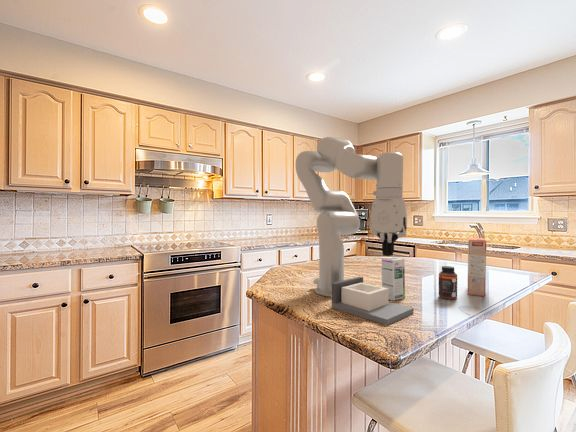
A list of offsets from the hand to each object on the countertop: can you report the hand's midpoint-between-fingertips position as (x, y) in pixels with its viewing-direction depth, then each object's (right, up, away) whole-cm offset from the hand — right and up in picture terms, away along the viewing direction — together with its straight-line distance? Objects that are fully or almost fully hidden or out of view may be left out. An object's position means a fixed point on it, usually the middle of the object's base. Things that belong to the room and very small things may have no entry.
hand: (387, 255), depth 90 cm
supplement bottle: (+28, -18, +18) cm, 38 cm away
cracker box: (+44, -18, +26) cm, 54 cm away
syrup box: (+8, -18, +18) cm, 27 cm away
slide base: (-4, -18, +4) cm, 19 cm away
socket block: (-5, -16, +6) cm, 18 cm away
